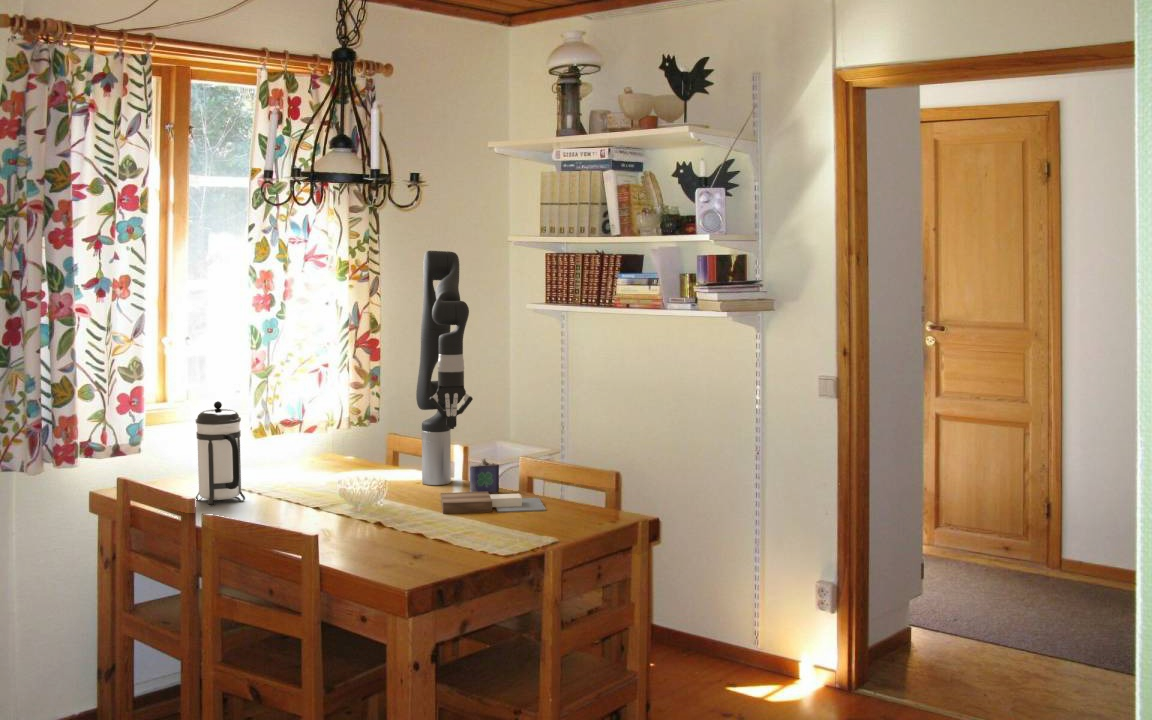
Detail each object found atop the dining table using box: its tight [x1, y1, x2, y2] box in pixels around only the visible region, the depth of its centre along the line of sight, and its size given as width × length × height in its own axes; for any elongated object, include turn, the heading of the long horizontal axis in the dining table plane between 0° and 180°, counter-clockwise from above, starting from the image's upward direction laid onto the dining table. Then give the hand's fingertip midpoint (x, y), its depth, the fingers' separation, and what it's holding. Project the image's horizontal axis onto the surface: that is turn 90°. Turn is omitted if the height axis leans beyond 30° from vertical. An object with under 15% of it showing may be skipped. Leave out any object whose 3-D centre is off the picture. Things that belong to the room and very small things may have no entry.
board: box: [440, 491, 493, 514], centre depth 322 cm, size 14×14×3 cm
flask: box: [469, 458, 500, 495], centre depth 341 cm, size 9×3×11 cm, turn 109°
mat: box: [495, 497, 547, 513], centre depth 324 cm, size 16×14×1 cm
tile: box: [489, 493, 523, 508], centre depth 323 cm, size 6×9×2 cm, turn 100°
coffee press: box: [194, 401, 246, 506], centre depth 327 cm, size 17×16×30 cm
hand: (451, 428), depth 321 cm, fingers closed
